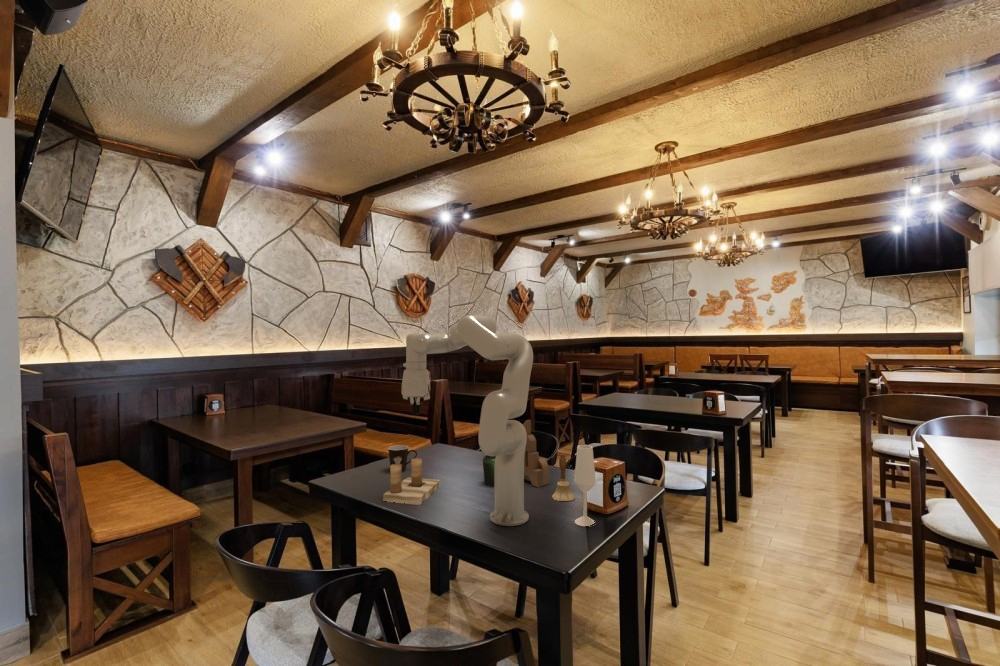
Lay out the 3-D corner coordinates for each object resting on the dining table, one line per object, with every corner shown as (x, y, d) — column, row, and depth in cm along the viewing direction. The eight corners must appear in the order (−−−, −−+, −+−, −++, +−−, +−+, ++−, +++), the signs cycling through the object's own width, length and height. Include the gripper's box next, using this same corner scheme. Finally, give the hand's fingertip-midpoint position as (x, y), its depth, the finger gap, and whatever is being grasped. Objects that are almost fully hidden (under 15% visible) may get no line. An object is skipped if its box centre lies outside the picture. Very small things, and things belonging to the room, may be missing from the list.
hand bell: (565, 503, 162) (565, 458, 162) (547, 498, 168) (547, 454, 168) (579, 497, 168) (579, 454, 168) (560, 492, 174) (560, 450, 174)
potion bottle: (488, 479, 189) (488, 435, 189) (506, 482, 185) (506, 437, 185) (478, 485, 182) (478, 439, 182) (496, 488, 178) (496, 441, 178)
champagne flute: (570, 519, 148) (570, 445, 148) (587, 516, 151) (587, 443, 151) (582, 528, 142) (582, 450, 142) (600, 524, 145) (600, 447, 144)
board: (419, 505, 161) (419, 470, 161) (383, 501, 164) (383, 467, 164) (440, 486, 180) (440, 455, 180) (407, 483, 184) (407, 453, 184)
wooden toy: (549, 484, 183) (549, 421, 183) (537, 487, 179) (537, 423, 179) (523, 474, 195) (523, 415, 195) (511, 478, 191) (511, 417, 191)
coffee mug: (384, 472, 198) (384, 449, 198) (394, 467, 206) (394, 444, 206) (408, 475, 195) (408, 451, 195) (418, 469, 203) (418, 446, 203)
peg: (419, 493, 173) (419, 461, 173) (409, 492, 174) (409, 460, 174) (423, 489, 177) (423, 458, 177) (414, 488, 178) (414, 457, 178)
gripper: (393, 366, 173) (393, 415, 173) (430, 367, 170) (430, 417, 170) (402, 365, 181) (402, 412, 181) (438, 366, 177) (438, 413, 177)
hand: (416, 414), depth 175 cm, fingers closed
